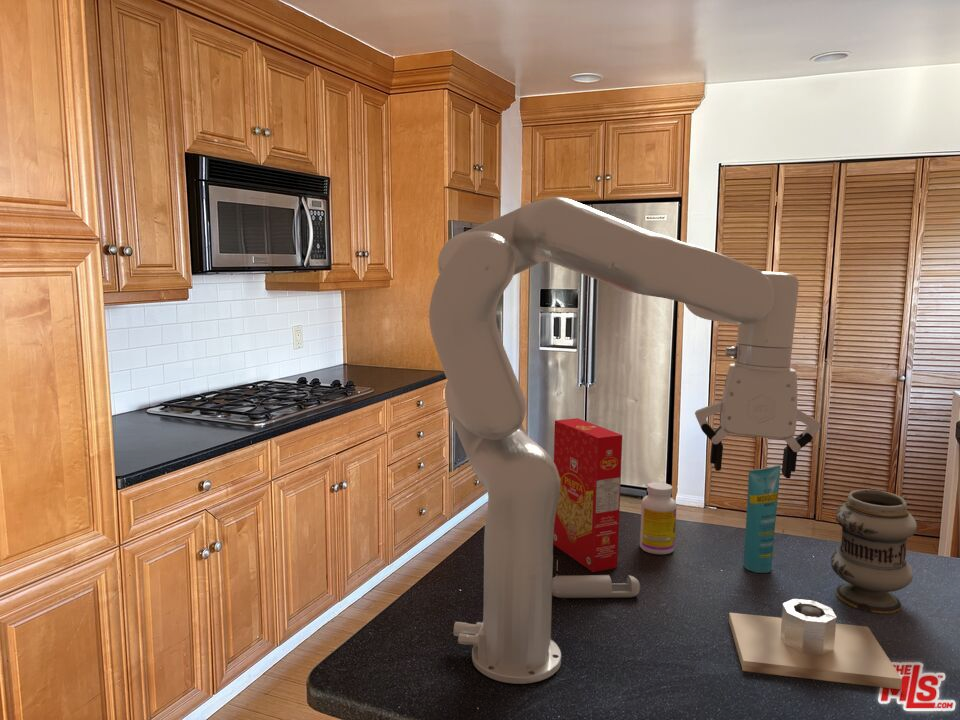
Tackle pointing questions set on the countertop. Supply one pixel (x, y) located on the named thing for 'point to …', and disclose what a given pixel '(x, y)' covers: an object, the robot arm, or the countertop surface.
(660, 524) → the supplement bottle
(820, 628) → the steel hub
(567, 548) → the food packaging
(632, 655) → the countertop surface
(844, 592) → the apothecary jar
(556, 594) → the torpedo
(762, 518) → the tube
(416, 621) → the countertop surface
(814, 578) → the countertop surface
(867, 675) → the base
